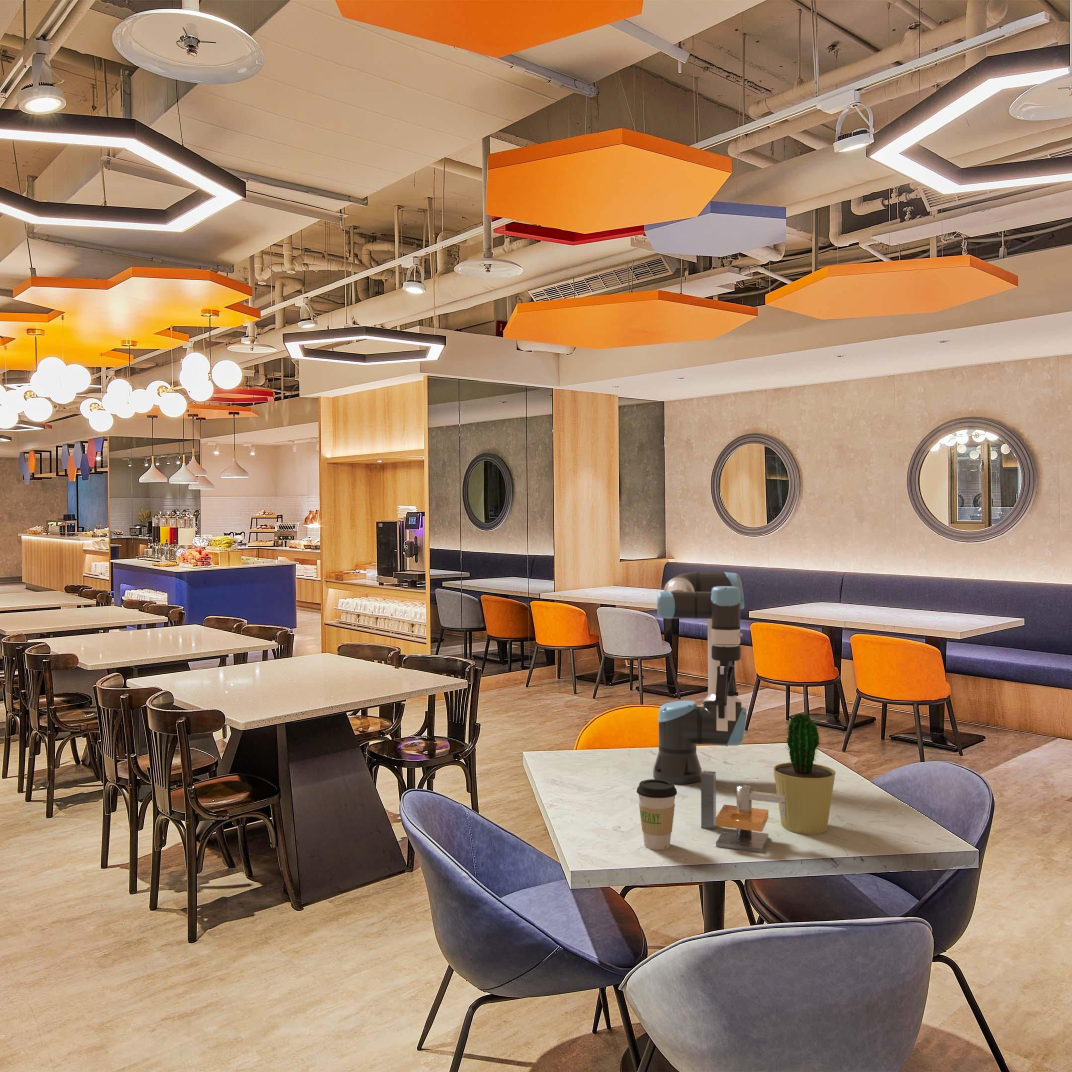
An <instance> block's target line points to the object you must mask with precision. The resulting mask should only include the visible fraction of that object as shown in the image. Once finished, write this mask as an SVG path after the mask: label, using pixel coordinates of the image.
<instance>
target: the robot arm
mask: <svg viewBox="0 0 1072 1072" xmlns="http://www.w3.org/2000/svg"><path fill="white" fill-rule="evenodd" d="M742 583H743V582H742V579H741V576H740V575H739V574H738V573H736V572H726V571H721V572H719V571H718V572H717V571H713V572H711V571H709V572H706V571H705V572H704V571H703V572H696V571H694V572H693V571H692V572H685V573H681V574H679V575H676V576H674V577H672V578H671V579H669V580H668V581H667V582H666V583H665V586H664V588H663V591H659V592H658V593H657V597H656V598H657V599H656V609H657V610H656V611H657V612H656V613H657V616H658V617H659V618H660V619H668V620H672V619H696V620H698V619H699V620H700V619H701V620H703V619H705V620H707V687H708V688H707V696H706V697H705V698H704V699H703V700H702V701H703V706H698V704H697V703H696V701H695V700H675V701H670V702H667V703H664V704H662V705H660V706H659V709H658V719H657V722H658V752H657V756H656V759H655V762H654V766H653V768H652V777H653V779H661V780H667V781H670V782H672V783H674V785H675V784H676V785H677V784H679V785H680V784H681V785H682V784H683V785H686V784H695V783H698V782H701V773H702V772H703V770H702V766H701V763H700V760H699V756H698V754H697V746H698V745H699V746H700V745H702V746H719V747H720V746H721V747H723V746H724V747H729V746H730V747H735V746H741V744H742V743H743V741H744V737H745V731H746V724H747V722H746V721H747V708H746V707H744V706H743V707H742V700H740V698H739V697H738V696H739V692H738V691H737V662H738V661H740V660H741V654H742V653H741V652H742V649H741V646H740V644H741V637H743V635H744V634H743V633H742V632H741V610H744V608H745V597H744V590H743V584H742Z"/></svg>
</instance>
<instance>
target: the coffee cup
mask: <svg viewBox="0 0 1072 1072" xmlns="http://www.w3.org/2000/svg"><path fill="white" fill-rule="evenodd" d="M636 793H637V794H638V801H639V802H638V807H639V816H640V824H641V831H642V835H643V837H642V838H643V843H644V847H645V848H647V849H650V850H655V851H663V850H667V849H669V848H670V847H671V846H670V845H671V837H672V833H673V827H674V826H673V825H674V816H675V807H676V804H675V801H676V800H675V799H676V795H677V794H678V791H677V788H676V787H675V784H674V783H672V782H670V781H667V780H661V779H655V778H650V779H649V778H648V779H644V780H641V781H640V782H639V783H638V786H637V788H636Z"/></svg>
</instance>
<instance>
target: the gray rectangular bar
mask: <svg viewBox="0 0 1072 1072" xmlns="http://www.w3.org/2000/svg"><path fill="white" fill-rule="evenodd" d="M700 812H701V813H700V817H701V818H700V821H701V822H700V827H701V829H708V830H715V828H716V827H717V826H716V817H717V772H716V771H712V770H711V771H710V770H702V773H701V780H700Z"/></svg>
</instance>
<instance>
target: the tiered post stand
mask: <svg viewBox="0 0 1072 1072" xmlns="http://www.w3.org/2000/svg"><path fill="white" fill-rule="evenodd" d="M752 801H756V802H766V803H774V804H775V803H776V804H778V803H782V818H785V817H786V795H782V794H777V793H772V792H765V791H763V792H762V791H753V790H752V786H751V785H749V784H738V785H736V805H732V804H731V805H730V804H723V806H722V807H721V808H720V811H719V812H718V814H716V826H715V827H721V828H723V829H722V831H721V832H720V835H719V836H718V838H717V839H716V842H715V847H716V848H725V849H731V850H738V851H745V852H751V853H752V852H754V853H760V854H762V853H763V851H764V850H765V847H766V844H767V842H768V840H769V837H770V836H769V833H767V832H763V830H764V828H765V827H766V824H767V822H768V820H769V809H765V808H758V807H757V808H756V807H752Z"/></svg>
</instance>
